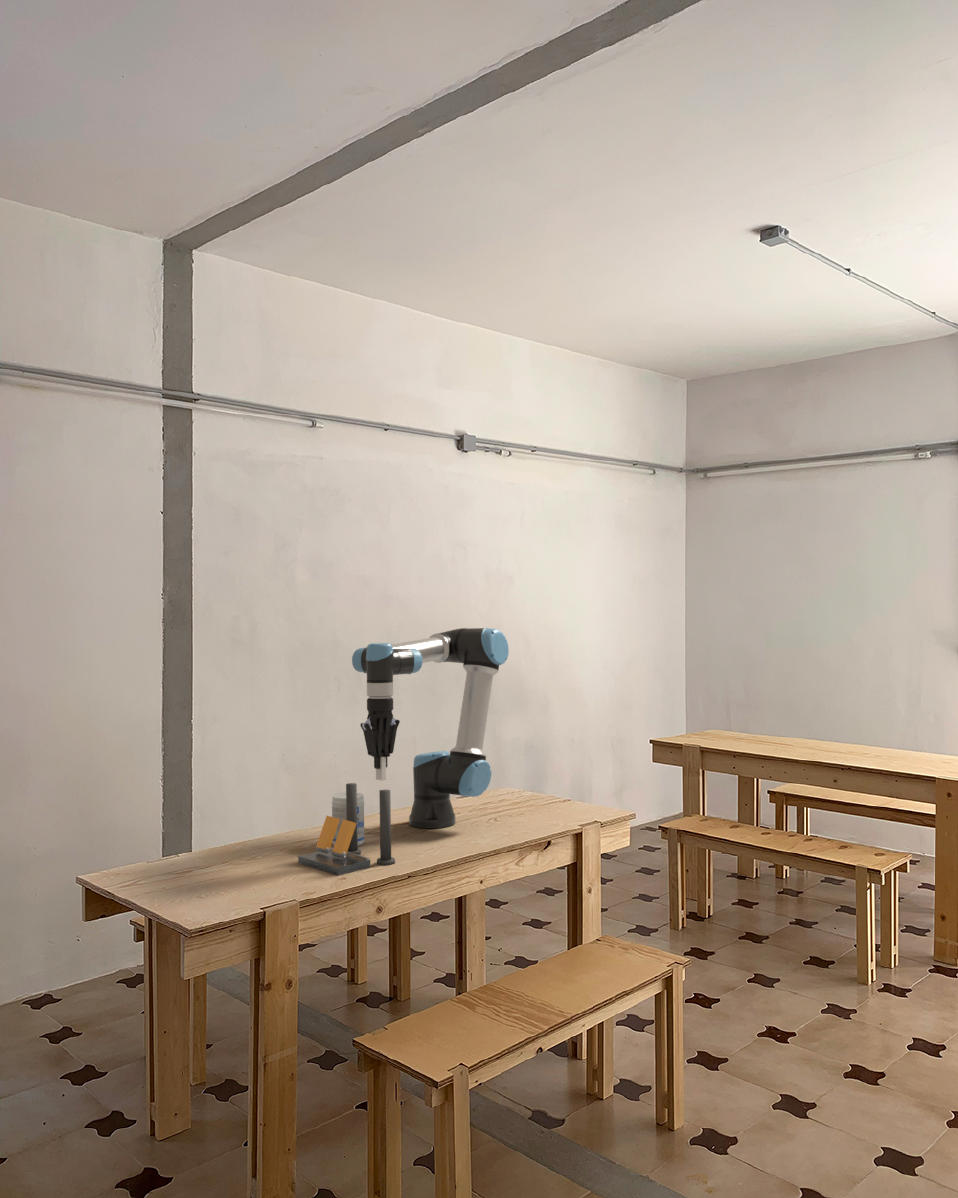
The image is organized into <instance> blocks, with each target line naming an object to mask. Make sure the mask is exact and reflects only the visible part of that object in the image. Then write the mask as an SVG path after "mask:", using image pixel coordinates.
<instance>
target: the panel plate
mask: <svg viewBox="0 0 958 1198" xmlns="http://www.w3.org/2000/svg"><path fill="white" fill-rule="evenodd" d="M333 848H334V847H332V846H331V848H330V851H329V853H323V852H320V851H315V852H311V853H307V854H302V855H298V857H297V858H298V861H297V862H298V864H299V865H302V866H306V867H309V868H313V869H315V870H319V871H322V872H326V873H328V874H332V875H335V876H341V875H345V874H349V873H354V872H356V871H360V870H363V869H368V868H371V859H370V857H368V856H365V855H361V854H360V855H358V854H354V853H351V852H347V854H346V857H345V858H341V857H337V856H334V855H332V851H333Z"/></svg>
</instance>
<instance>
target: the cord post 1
mask: <svg viewBox="0 0 958 1198" xmlns="http://www.w3.org/2000/svg"><path fill="white" fill-rule="evenodd" d="M357 786H358V785H357V783H356V782H349V783H346V785H345V793H346V815H347V821H352V822H354V823H356V827H355V830H354V833H353V836H352V839H351V842H350V845H349V848H348V851H347V852H351V853H354V854H358V855H361V854H362V849H361V848H359V846H357V793H358V791H357V789H358V788H357Z"/></svg>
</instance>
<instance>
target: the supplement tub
mask: <svg viewBox="0 0 958 1198" xmlns="http://www.w3.org/2000/svg"><path fill="white" fill-rule="evenodd" d="M331 808H332V809H331V817H335V818H338V819H340V821H339V824H338V827H337V830H336V833H335V836H334V839H333V842H332V845H333V846H334V845H335V842H336V839H337V836H338V833H339V830H340V827H341V824H342V821H343V820H347V815H346V792H341V793H336V794H333V795H332V801H331ZM364 843H365V799H364V794H363V793H359V792H357V847H360V846H362V845H363V844H364Z"/></svg>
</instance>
